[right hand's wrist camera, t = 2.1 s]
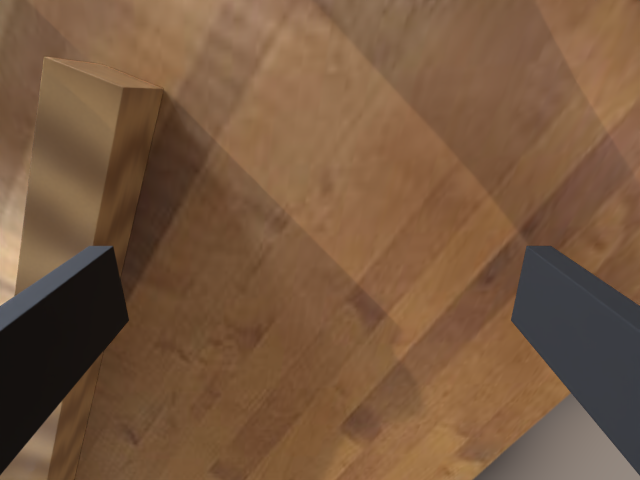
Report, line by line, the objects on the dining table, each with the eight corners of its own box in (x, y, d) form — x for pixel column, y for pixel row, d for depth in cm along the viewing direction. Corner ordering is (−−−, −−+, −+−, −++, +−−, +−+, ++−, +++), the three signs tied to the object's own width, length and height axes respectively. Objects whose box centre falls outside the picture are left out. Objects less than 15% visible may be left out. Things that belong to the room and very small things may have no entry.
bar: (101, 63, 34) (43, 55, 27) (164, 88, 35) (123, 87, 28) (19, 539, 56) (-24, 604, 49) (58, 548, 57) (21, 613, 50)
